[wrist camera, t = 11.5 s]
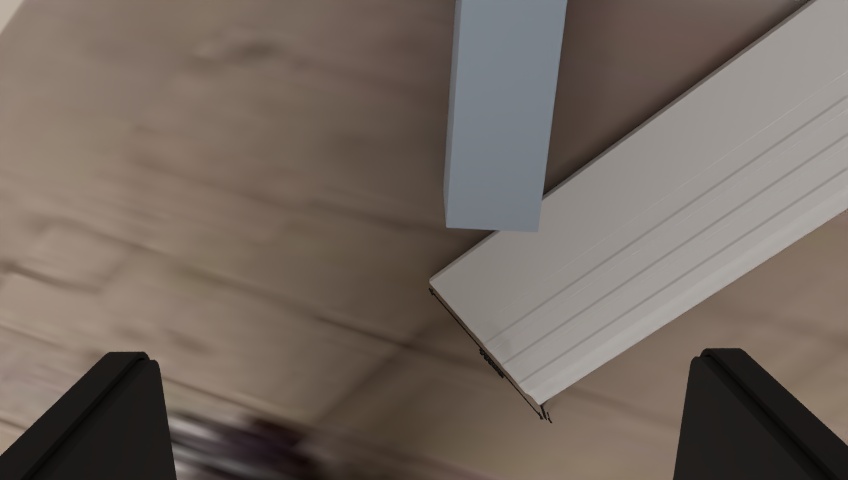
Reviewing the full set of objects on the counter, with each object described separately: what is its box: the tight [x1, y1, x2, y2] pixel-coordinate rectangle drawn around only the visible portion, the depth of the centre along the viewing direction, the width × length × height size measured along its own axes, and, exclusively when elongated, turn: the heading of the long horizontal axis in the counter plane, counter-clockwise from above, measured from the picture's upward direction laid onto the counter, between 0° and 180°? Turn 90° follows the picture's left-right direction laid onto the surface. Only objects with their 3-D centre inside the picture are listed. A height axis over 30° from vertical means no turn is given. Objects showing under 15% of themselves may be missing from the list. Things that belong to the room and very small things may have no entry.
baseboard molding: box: [429, 0, 848, 423], centre depth 30 cm, size 31×3×12 cm
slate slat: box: [443, 0, 567, 232], centre depth 26 cm, size 4×14×6 cm, turn 177°
